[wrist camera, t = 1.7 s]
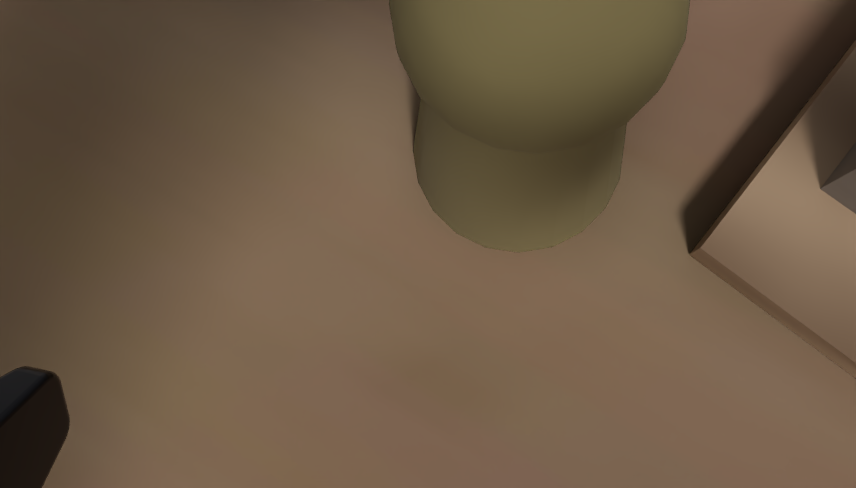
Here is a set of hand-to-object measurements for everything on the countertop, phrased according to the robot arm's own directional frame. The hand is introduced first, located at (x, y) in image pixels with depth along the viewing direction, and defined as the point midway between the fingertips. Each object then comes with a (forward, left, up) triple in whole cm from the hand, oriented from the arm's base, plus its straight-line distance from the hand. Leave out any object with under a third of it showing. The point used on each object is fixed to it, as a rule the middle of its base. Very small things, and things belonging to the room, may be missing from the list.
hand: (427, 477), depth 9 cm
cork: (+8, -1, -14) cm, 16 cm away
